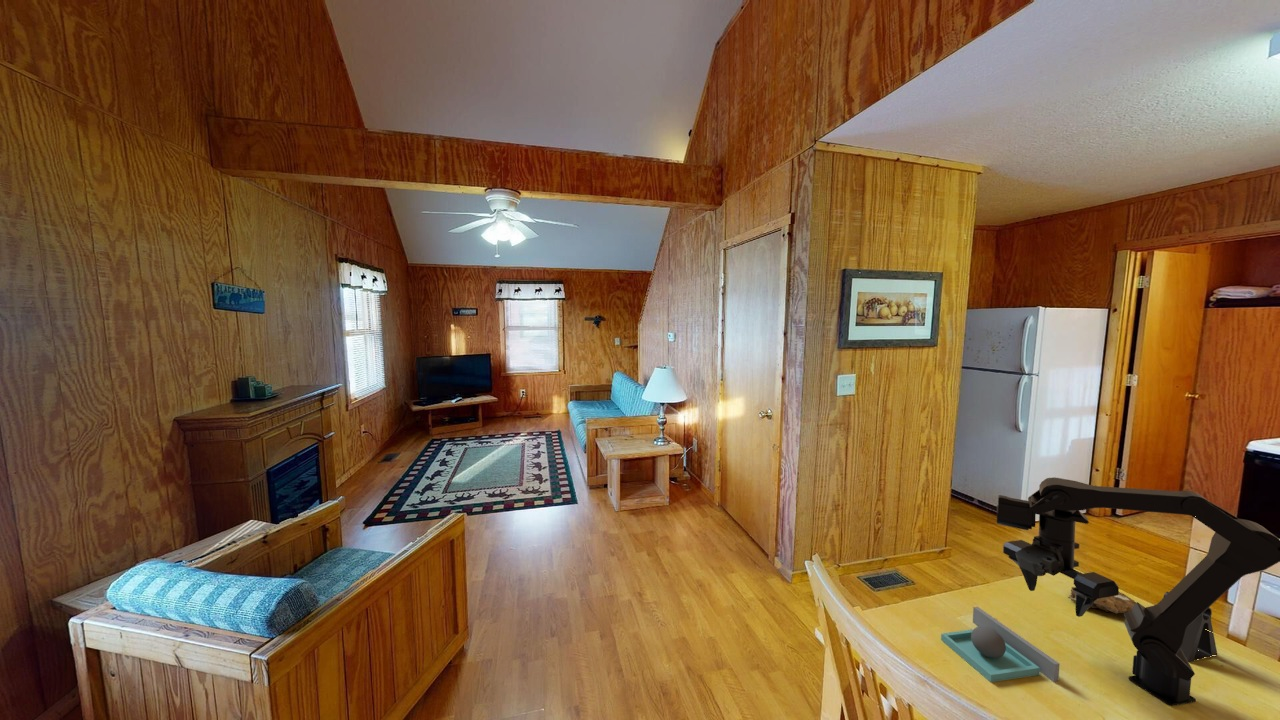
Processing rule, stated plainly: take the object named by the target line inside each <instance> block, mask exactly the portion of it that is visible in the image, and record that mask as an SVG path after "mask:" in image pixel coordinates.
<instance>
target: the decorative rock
mask: <svg viewBox="0 0 1280 720" xmlns="http://www.w3.org/2000/svg"><path fill="white" fill-rule="evenodd" d="M1072 588H1076V586H1071V590H1070V595H1068V596H1067V598H1068V599H1070V601H1071V602H1073V603H1074V604H1076V593H1075V592H1074V591H1073V590H1072ZM1135 603H1137V602H1136V601H1135V600H1133V599H1132V598H1130V597H1129V596H1127V595H1126V594H1125V593H1122V592H1120V591H1119V593H1118V595H1117V596H1111V597H1105V598H1098V599H1097V600H1096V601H1095V602H1094V603H1093V604H1092V605H1091V606H1090V607H1089V608H1088V609H1090V608H1093V609H1100V610H1103V611H1105V612H1106V613H1108V612H1111V613H1115V614H1124V613H1127V612H1129V611H1131V610H1132V608H1133V606H1134V605H1135Z"/></svg>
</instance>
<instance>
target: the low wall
mask: <svg viewBox="0 0 1280 720" xmlns="http://www.w3.org/2000/svg"><path fill="white" fill-rule="evenodd" d="M972 623H973V624H974V625H976V627H979V626H986V627H989V628H992V629H993V630H995V631H996V632H997V633H999V634H1000V636H1001V637H1002V638H1003V640H1004V642H1005V643H1007V644H1008V645H1009V646H1011V647H1012V648H1013V649H1015V650H1016V651H1018V652H1019V653H1020V654H1022V655H1023V656H1024V657H1026V658H1027V659H1028V660H1030V661H1031V662H1033V663H1034V664H1035V665H1037V666H1038V667H1039V668H1040V673H1041V675H1044V677H1046V678H1047V679H1048V680H1049V681H1051V682H1053V683H1058V682H1059V681H1060V680H1059V678H1060V665H1061V663H1060V662H1058V661H1057V660H1055V659H1054V658H1052V657H1051V656H1050V655H1049V654H1047V653H1046V652H1044V651H1043V650H1041V649H1040V648H1039V647H1037V646H1036V645H1034V644H1032V643H1031V642H1029V640H1027V639H1025V638H1024V637H1022V636H1021V635H1019V634H1018V633H1017V632H1015V631H1013V630H1012V629H1011V628H1009V627H1008V626H1007V625H1005V624H1003V623H1002V622H1000V621H999V620H998V619H996V618H995V617H993V616H992V615H991V614H989V613H987V611H985V610H984V609H982V608H980V606H973V611H972ZM1040 673H1039V674H1040Z"/></svg>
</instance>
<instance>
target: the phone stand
mask: <svg viewBox="0 0 1280 720" xmlns="http://www.w3.org/2000/svg"><path fill="white" fill-rule="evenodd" d="M1169 592H1170V591H1166V592H1164V594H1163V598H1164V597H1165V596H1166V595H1167V594H1168V593H1169ZM1163 598H1162V599H1163ZM1212 614H1213V611H1212V609H1211V607H1209V608H1208V609H1207V610H1206V611H1205V612H1204V613H1202V614H1201V615H1200V616H1199V617H1198V618H1197V619H1196V620H1195V621H1194V622H1193V623H1192V624H1191V625H1189V626H1188V628H1187V630H1186V634H1185V638H1184V642H1183V645H1182V647H1181V650H1182V652H1183V653H1184V655H1185V657H1186V659H1187V661H1188V662H1189V663H1191V661H1192V662H1195V661H1194V660H1197V659H1202V658H1204V657H1210V656H1212V655H1217V656H1218V650H1217V645H1216V639H1215V634H1214V629H1213V624H1212ZM1205 629H1207V630H1209V631H1211V632H1209V631H1207V630H1205ZM1212 632H1213V633H1212ZM1198 650H1199V651H1198ZM1202 660H1203V659H1202ZM1197 661H1198V660H1197Z"/></svg>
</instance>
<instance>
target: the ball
mask: <svg viewBox="0 0 1280 720" xmlns="http://www.w3.org/2000/svg"><path fill="white" fill-rule="evenodd" d="M973 629H974V630H973V631H972V633H971V640H972V643H973V645H974V646H975V648H976V649H977V650H978V651H979V652H980V653H981V654H983V655H985V656H987V657H989V658H1000V657H1002V656H1003V655H1004V653H1005V651H1006V645H1005V642H1004V640H1003V638H1002V637H1001V636H1000V634H999V633H997V632H996V631H995V630H993V629H992V628H989V627H986V626H976V627H975V628H973Z"/></svg>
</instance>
